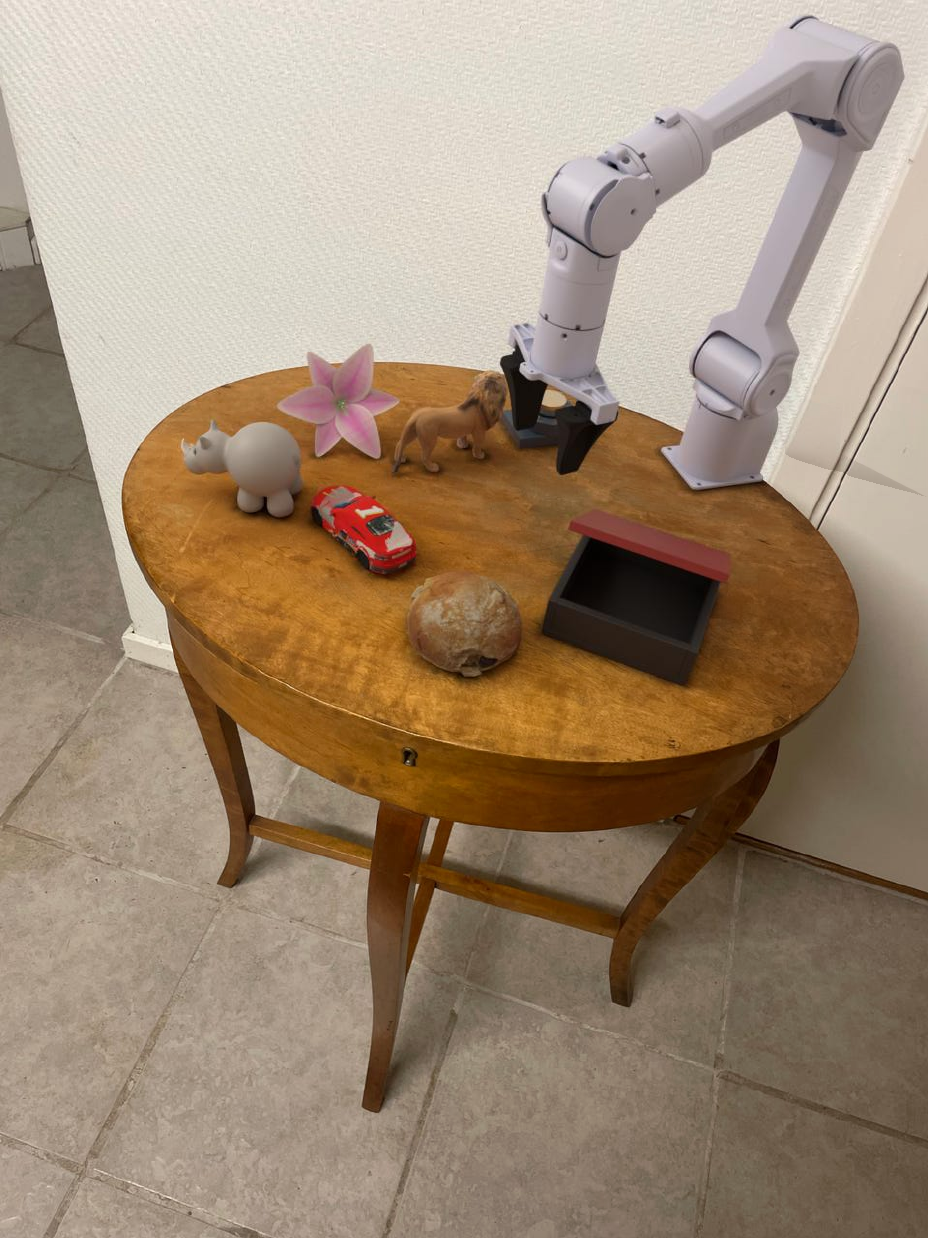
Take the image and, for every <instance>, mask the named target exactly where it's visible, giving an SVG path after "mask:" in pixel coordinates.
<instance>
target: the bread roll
mask: <svg viewBox="0 0 928 1238" xmlns="http://www.w3.org/2000/svg"><path fill="white" fill-rule="evenodd" d="M410 600H411V601H412V600H413V601H412V603H411V604H410V606H409V610H408V613H407V615H406V622H407V625H406V626H407V632H406V635H407V636H408V637H407V638H408V640H409V642H410V644H411V646H412V649H413V650H414V652H416V653H418V655H419V656H421V658H423V660H425V661H426V662H429V663H431V664H432V665H434V666H435V667H436V668H439V669H441V670H444V671H447V672H451V673H460V674H461V675H462V676H463V677H464V678H468V677H469V678H470V677H471V678H473V677H477V676H480V675H483V673H482V672H484V671H488V670H490V669H492V668H494V667H497V666H498V665H499V664H500V663H504V662H506V660H508V659H510V658H511V657H512V656H513V655H514V654H515V653H516V651H517V649H518V646H520V645H519V644H520V643H521V639H522V634H523V633H522V632H523V625H522V618H521V617H522V616H521V613H520V609H519V606H518V605H517V602H516V601H515V599H514V598H513V596H511V594H510V593H509V592H508V591H507V590H506V589H505V588H504V587H503V586H502V585H501V584H500V583H498V582H496V581H494V580H493V579H490V578H488V577H486V576H484V575H481V574H478V573H476V572H473V571H466V570H465V571H463V570H452V571H448V572H443V573H441V574H437V575H435V576H432V577H427V578H425V581H424V583H423V585H419V586H417V587H416V588H415V590H414V591H413V592H412V593H411V597H410Z"/></svg>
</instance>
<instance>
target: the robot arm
mask: <svg viewBox="0 0 928 1238" xmlns="http://www.w3.org/2000/svg"><path fill="white" fill-rule="evenodd" d="M763 49H764V50H763V52H762V54H761V57H759V58H758V59H757V60H755V61H754V62H753V63H752V64H751V65H749V66H748V67H747V68H745V69H744V70H742V71H741V72H740V73H739V74H738V75H737V76H735V77H734V78H733V79H731V80H730V81H729V82H728V83H727V84H725V85H723V87H722V88H720V89H719V90H718V91H716V92H715V93H714V94H712V95H711V96H710V97H709V98H707V99H706V100H705V101H703V102H702V103H701V104H699V106H697V107H696V108H695V109H693V110H692V111H691V110H689V109H687V108H685V107H682V106H673V107H669V106H665V107H663V108H661V109H660V110H658V111H657V112H655V113H654V115H653V116H654V118H653V119H651V120H650V121H648V122H647V123H646V124H643V125H642V126H641V127H639V128H638V129H636V130H635V131H633V132H632V133H630V134H628V135H627V136H626V137H624V138H622V139H621V140H620V141H618V142H615V143H614V144H612V145H610V146H608V147H607V148H606V150H605V151H603V152H602V153H600V154H598V155H597V156H596V157H594V156H592V155H587V156H586V155H585V154H584V155H579V156H576V157H575V158H572V159H569V160H568V161H565V162H564V163H563V164H562V165H560V167H559V168H558V169H557V170H556V171H555V172H554V174H553V176H552V177H551V179H550V181H549V183H548V187H547V190H546V191H544V192H542V193H541V196H540V197H541V198H540V207H541V208H540V209H541V215H542V217H543V219H544V221H545V223H546V226H547V233H546V238H545V243H546V245H547V247H548V255H547V260H546V266H545V272H544V278H543V283H542V289H541V295H540V301H539V306H538V307H539V308H538V313H537V318H536V325H535V326H534V325H532V323H530V322H528V321H527V322H521V323H516V324H515V323H514V324H511V325H510V328H509V335H508V342H507V344H508V345H509V346H510V347H511V348H512V349H514V350H513V351H512V353H510V354H506V355H503V356H501V357H500V360H499V366H500V368H501V370H502V372H503V375H504V379H505V382H506V385H507V390H508V393H509V397H510V398H509V401H510V408H511V409H512V419H513V427H514V429H515V430H516V431H520V430H524V429H528V428H533V427H534V426H535V424H536V422H537V419H538V417H539V413H540V409H541V405H542V401H543V397H544V394H545V391H546V390H548V389H547V388H548V386H551V387H553V388H555V389H556V390H559V392H560V391H561V392H562V393H564V394H565V395H569V396H570V397H572V398H573V399H575V405H573V406H569V407H564V408H560V409H556V410H555V416H556V420H557V424H558V432H559V444H557V445H558V447H557V453H556V460H555V470H556V472H557V474H558V475H559V476H564V475H569V474H572V473H576V472H578V471H579V469H580V468H581V465H582V464H583V462H584V460H585V458H586V457H587V455H588V454H589V452H590V450H591V449H592V447H593V445H594V444H595V443H596V441H597V440H598V439H599V438H600V437H601V436H602V435H603V434H604V433H605V432H606V430H608V429H609V428H610V427H611V426H612V425H613V424H614V423H615V422H617V420H618V417H619V411H618V409H619V406H620V400H619V399H618V398H617V397H616V396H614V394H613V393H612V391H611V389H610V388H609V386H608V384H607V382H606V380H605V378H604V376H603V374H602V372H601V370H600V368H599V366H598V364H597V359H598V354H599V351H600V346H601V341H602V337H603V333H604V329H605V324H606V321H607V320H606V319H607V317H608V311H609V306H610V303H611V298H612V293H613V290H614V285H615V281H616V276H617V272H618V268H619V263H620V259H621V255H622V252H623V251H626V250H628V249H629V248H631V246H632V245H633V244H634V243H635V242H636V241H637V239H638V238H639V236H640V235H641V233H642V231H643V229H644V227H645V226H646V224H647V223H648V222H649V221H650V220H652V219H653V218H654V215H655V214H657V209H658V208H659V207H661V206H662V205H663V204H665V203H667V202H668V201H669V200H671V199H672V198H674V197H675V196H677V195H678V194H680V193H681V192H683V191H685V190H686V189H687V188H689V187H691V185H693V184H695V183H696V182H697V181H698V180H701V178H703V177H704V176H705V175H706V174H707V172H708V171H709V169H710V166H711V163H712V157H713V153H714V152H716V151H718V150H719V149H722V148H723V147H725V146H727V145H728V144H731V143H732V142H734V141H735V140H737V139H739V138H740V137H742V136H744V135H746V134H748V133H749V132H751V131H753V130H754V129H757V128H758V127H760V126H762V125H763V124H765V123H767V122H769V121H770V120H772V119H774V118H776V117H777V116H780V115H781V114H783V113H784V112H787V113H788V115H789V116H790V117H791V118H792V119H793V122H794V125H795V128H796V130H797V134H798V136H799V138H800V141H801V148H800V151H799V154H798V155H797V158H796V161H795V163H794V165H793V168H792V171H791V173H790V175H789V178H788V180H787V183H786V185H785V187H784V190H783V192H782V195H781V197H780V200H779V202H778V204H777V207H776V210H775V212H774V214H773V217H772V219H771V222H770V224H769V227H768V230H767V231H766V234H765V236H764V239H763V241H762V243H761V246H760V248H759V251H758V252H757V253H758V254H757V256H756V257H755V260H754V263H753V266H752V267H751V271H750V273H749V276H748V277H747V281H746V283H745V285H744V287H743V290H742V291H741V292H742V293H741V295H740V298H739V300H738V303H737V305H736V307H733V308H730V309H729V308H728V309H726V310H723V311H721V312H718V313H716V314H714V315H712V316H711V318H710V321H709V323H708V325H707V328H706V329H705V331H704V333H703V334H702V336H701V337H700V338H699V339H698V340H697V342H696V343H695V345H694V346H693V349H692V351H691V353H690V356H689V360H688V361H689V362H688V370H689V371H688V372H689V374H690V375H691V377H692V378H694V380H693V384H692V386H691V388H692V389H693V390H694V391H695V393H696V394H695V396H694V400H693V403H692V405H691V408H690V412H689V415H688V418H687V421H686V424H685V427H684V431H683V432H682V437H681V439H680V442H679V444H677V445H669V446H663V447H662V448H661V449H660V452H661V453H662V454H663V456H664V457H665V458H666V459H667V461H668V462H669V464H670V465H671V466H672V467H673V468H674V469H675V470H676V472H677V473H678V475H680V476H681V478H682V479H683V480H684V481H685V483H686V484H687V485H688V486H689V487H690V489H691V490H693V491H700V490H701V491H702V490H708V489H715V488H721V487H731V486H736V485H744V484H750V483H751V484H752V483H758V482H762V481H763V480H764V476H763V474H762V473H761V471H762V469H763V468H764V467H763V466H764V464H765V461H766V459H767V457H768V454H769V452H770V449H771V447H772V445H773V442H774V441H775V437H776V435H777V431H778V427H779V411H778V408H777V407H778V406H779V405H780V404H781V403H782V402H783V400H784V399H785V397H786V396H787V394H788V392H789V390H790V388H791V385H792V381H793V372H794V368H795V365H796V363H797V359H798V357H799V356H800V349H799V346H798V344H797V341H796V339H795V337H794V335H793V333H792V330H791V328H790V325H789V323H788V322H789V321H788V320H789V318H790V316H791V314H792V312H793V308H794V306H795V304H796V302H797V300H798V297H799V296H800V294H801V291H802V289H803V287H804V284H805V282H806V280H807V278H808V276H809V274H810V271H811V269H812V266H813V264H814V262H815V260H816V258H817V255H818V253H819V251H820V249H821V246H822V244H823V242H824V241H825V238H826V236H827V233H828V231H829V229H830V227H831V224H832V222H833V220H834V218H835V216H836V213H837V211H838V209H839V207H840V205H841V202H842V200H843V198H844V196H845V194H846V191H847V189H848V187H849V185H850V182H851V180H852V178H853V176H854V174H855V171H856V169H857V167H858V165H859V162H860V161H861V158H862V156H863V153H864V152H869V151H871V150H872V149H873V147H874V146H875V144H876V142H877V140H878V137H879V135H880V133H881V131H882V129H883V127H884V125H885V123H886V121H887V118H888V116H889V113H890V111H891V109H892V107H893V106H894V103H895V100H896V98H897V96H898V94H899V92H900V90H901V88H902V86H903V85H902V84H903V83H904V81H905V76H906V75H905V72H904V65H903V61H902V55H901V51H900V49H899V47H898V46H897V45H896V44H895V43H893V42H890V41H880V40H877V39H874V38H871V37H868V36H866V35H862V34H860V33H857V32H854V31H851V30H848V29H846V28H843V27H840V26H837V25H834V24H831V23H828V22H826V21H823V20H820V19H819V18H818V17H816V16H814V15H812V14H809V13H802V14H799V15H797V16H795V17H793V18H792V19H791V20H789V21H788V22H786V24H785V25H784V26H782V27H780V28H778V29H775V30H774V31H773V32H772V33H771V35H770V36H769V39H768V40H767V43H766V45H765V47H764V48H763ZM511 409H510V410H511Z"/></svg>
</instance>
